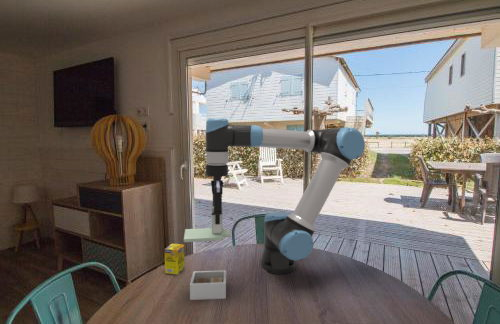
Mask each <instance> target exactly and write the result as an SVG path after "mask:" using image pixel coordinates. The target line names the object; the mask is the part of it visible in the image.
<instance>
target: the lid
mask: <svg viewBox="0 0 500 324" xmlns="http://www.w3.org/2000/svg"><path fill="white" fill-rule="evenodd" d="M213 212H214V206H211V227H205V228H189V229H188V228H185V229H184V235H183V243H192V242H193V243H195V242H213V241H224V238H231V237H232V233H231V229H230V228H229V229H227V228H226V229H223V213H222V214H221V233H213V215H212V213H213Z"/></svg>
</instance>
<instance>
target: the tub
mask: <svg viewBox="0 0 500 324" xmlns="http://www.w3.org/2000/svg"><path fill="white" fill-rule="evenodd" d="M196 278H208V283H196ZM211 278H222V282H214V283H210V282H211ZM226 297H227V270H225V269H224V270H198V271H197V270H196V271H195V270H194V271H192V275H191V279H190V283H189V300H190V301H199V300H200V301H201V300H203V301H204V300H223V299H226Z"/></svg>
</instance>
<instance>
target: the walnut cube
mask: <svg viewBox="0 0 500 324" xmlns="http://www.w3.org/2000/svg"><path fill="white" fill-rule="evenodd" d="M196 283H208V278H196Z"/></svg>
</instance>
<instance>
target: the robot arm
mask: <svg viewBox="0 0 500 324" xmlns="http://www.w3.org/2000/svg"><path fill="white" fill-rule="evenodd" d="M229 147H231V148H235V147H237V148H238V147H239V148H240V147H241V148H246V147H247V148H255V147H259V148H271V149H273V148H274V149H286V150H287V149H288V150H290V149H291V150H304V151H305V152H306V153H314V154H319V155H320V156H321V160H320V161H319V164H318V166H317V167H316V170H315V172H314V173H313V175H312V176H311V179H310V181H309V183H308V184H307V186H306V189H305V190H304V192H303V194H302V196H301V197H300V200H299V201H298V203H297V205H296V207H295V209H294V211H293V212H292V213H288V212H280V211H279V212H270V213H266V214H265V216H264V220H263V223H264V226H263V227H264V228H263V229H264V230H263V231H264V236H263V238H264V239H263V240H264V241H263V243H264V244H263V247H264V248H263V249H262V253H261V256H260V259H259V266H260V267H261V268H262V269H263V270H265V271H266V272H267V273H269V274H276V275H280V274H281V275H285V274H290V273H291V272H293V271H294V270H295V269H296V261H300V260H304V259H306V258H307V257H308V256H309V255H310V254H311V253H312V251H313V249H314V239H313V236H314V233H315V231H316V230H315V226H314V225H315V222H316V221H317V218H318V217H319V216H320V215H319V214H320V213H321V210H322V209H323V207H324V205H325V204H326V202H327V199H328V198H329V196H330V195H331V194H330V193H331V192H332V190H333V189H334V186H335V184H336V182H337V181H338V178H340V175H341V174H342V172H343V170H344V169H347V168H349V167H350V165H351V163H352V161H353V160H356V159H359V158H360V157H361V156H362V155H363V154H364V151H365V148H366V142H365V140H364V136H363V134H362V133H361V131H360V130H359V129H357V128H354V127H348V126H345V127H334V128H332V127H330V128H325V129H323V128H322V129H307V130H306V131H301V130H289V129H275V128H274V129H273V128H263V127H261V126H260V125H254V124H250V125H249V124H242V125H241V124H230V123H229V120H228V119H227V118H222V117H221V118H219V117H217V118H215V117H212V118H208V119H207V120H206V125H205V151H206V152H205V154H204V155H203V156H204V158H205V162H206V165H205V175H206V176H207V177H210V178H211V177H212V179H213V180H210V185H211V193H212V204H211V205H212V206H214V212H213V213H212V212H211V216H212V215H213V233H221V214H222V215H223V204H222V203H223V187H224V181H223V180H222V177H227V176H228V175H229V165H228V163H229ZM212 206H211V207H212Z"/></svg>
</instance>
